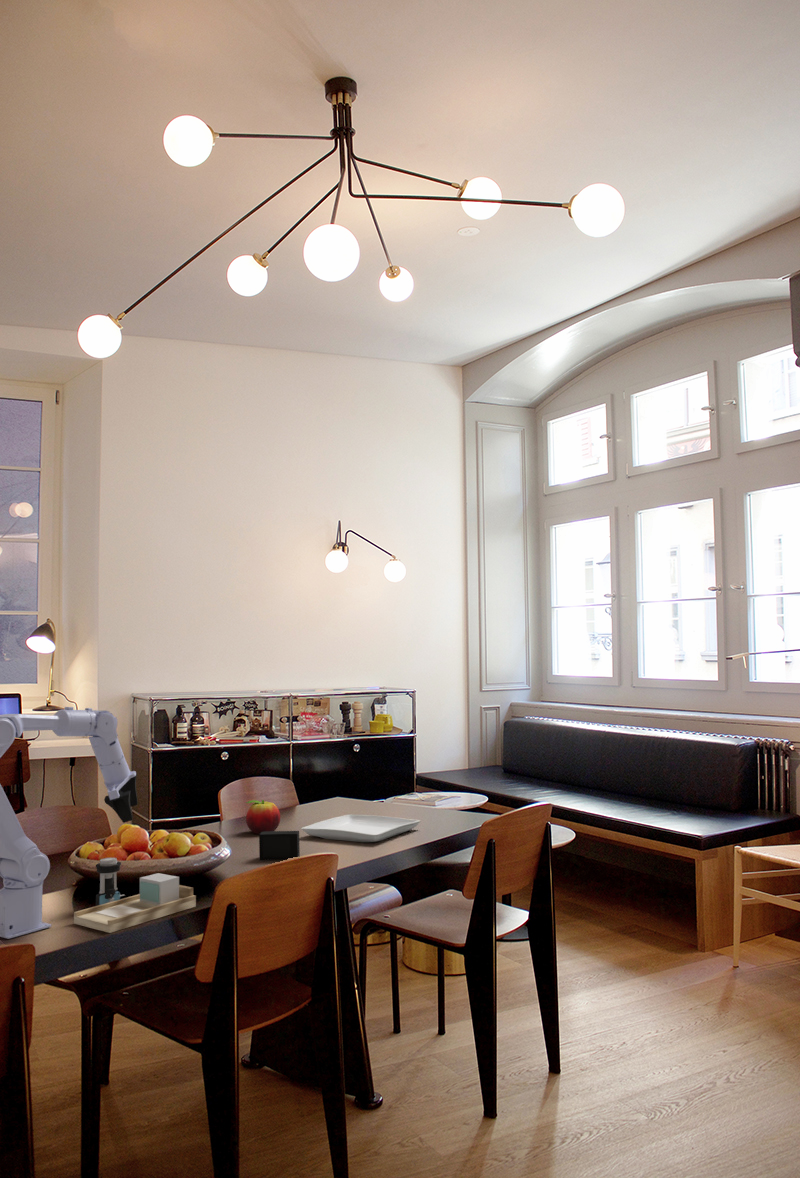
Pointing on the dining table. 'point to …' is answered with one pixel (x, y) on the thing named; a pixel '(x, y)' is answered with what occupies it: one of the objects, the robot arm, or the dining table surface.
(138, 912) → the beige tray
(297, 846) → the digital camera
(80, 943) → the dining table surface
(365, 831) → the square plate
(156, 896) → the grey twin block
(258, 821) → the fruit
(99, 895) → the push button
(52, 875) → the dining table surface
